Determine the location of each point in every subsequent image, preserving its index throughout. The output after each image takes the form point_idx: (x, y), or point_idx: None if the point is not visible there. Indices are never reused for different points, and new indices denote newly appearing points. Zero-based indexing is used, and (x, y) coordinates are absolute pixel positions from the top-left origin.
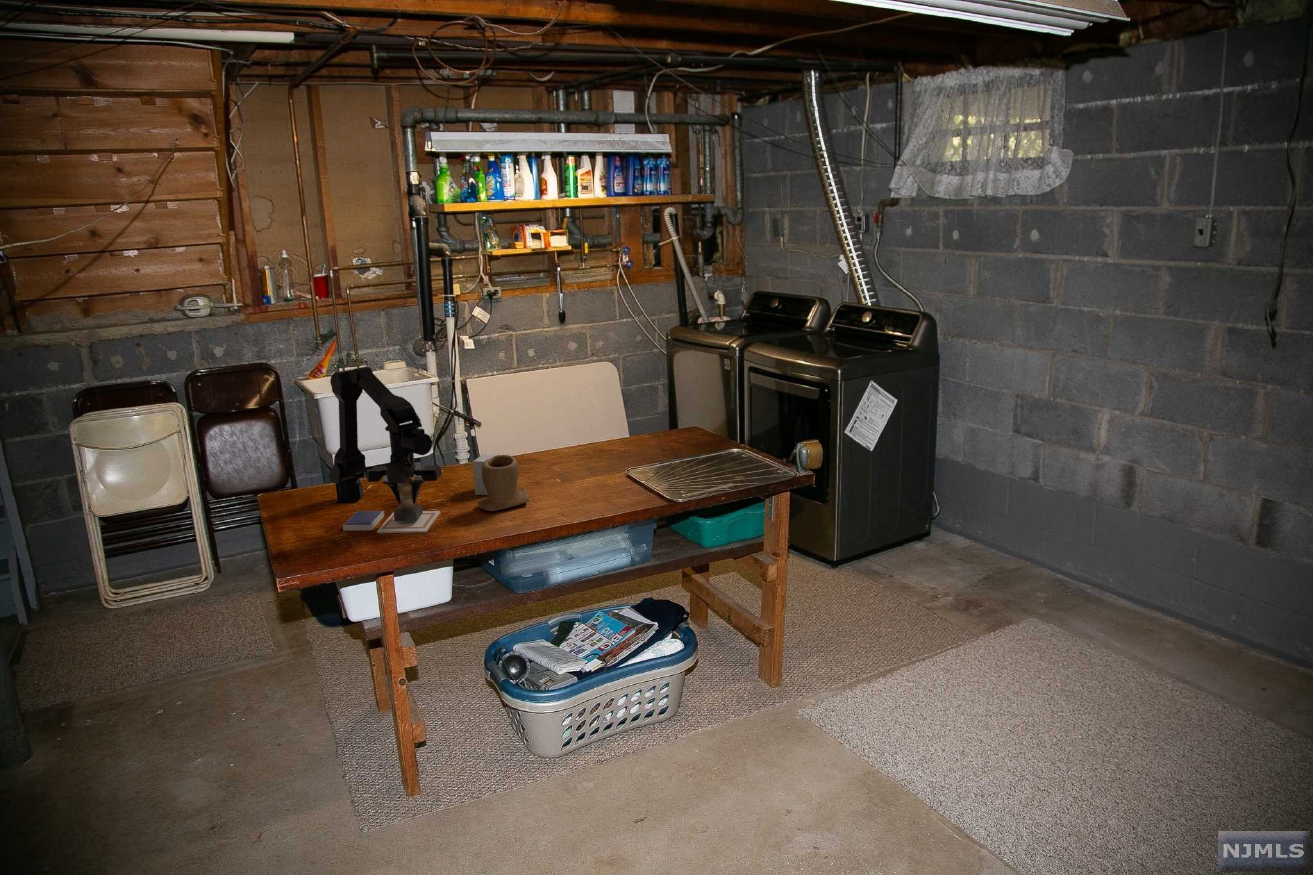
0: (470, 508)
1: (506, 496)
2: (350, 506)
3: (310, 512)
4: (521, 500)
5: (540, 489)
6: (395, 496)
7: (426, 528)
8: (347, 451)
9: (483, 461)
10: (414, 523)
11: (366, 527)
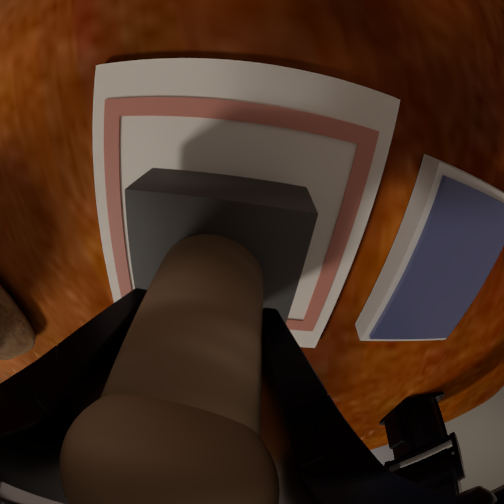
0: (52, 320)
1: None
2: (425, 381)
3: (500, 346)
4: None
5: (10, 362)
6: (308, 365)
7: (96, 95)
8: None
9: None
10: None
11: (451, 166)
